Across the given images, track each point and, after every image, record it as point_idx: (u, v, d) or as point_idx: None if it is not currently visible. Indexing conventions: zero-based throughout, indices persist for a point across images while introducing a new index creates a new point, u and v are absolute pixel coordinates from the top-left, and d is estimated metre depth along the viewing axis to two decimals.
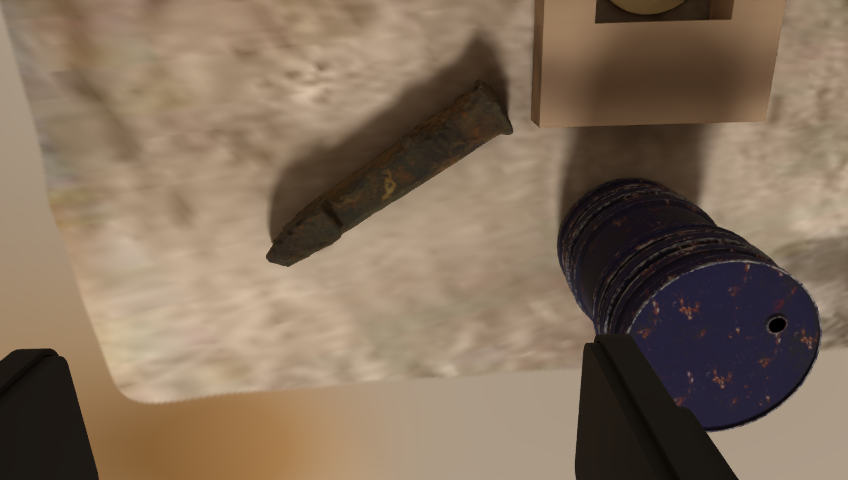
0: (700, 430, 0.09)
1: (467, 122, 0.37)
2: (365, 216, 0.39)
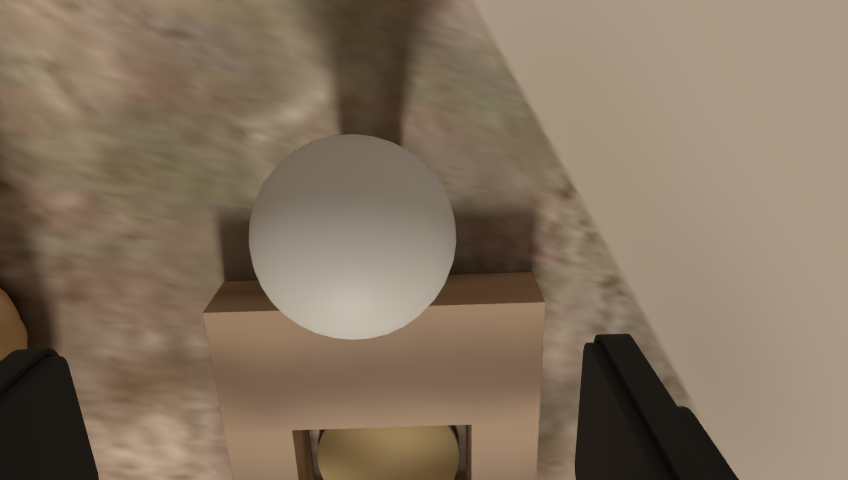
0: (701, 430, 0.09)
1: None
2: None
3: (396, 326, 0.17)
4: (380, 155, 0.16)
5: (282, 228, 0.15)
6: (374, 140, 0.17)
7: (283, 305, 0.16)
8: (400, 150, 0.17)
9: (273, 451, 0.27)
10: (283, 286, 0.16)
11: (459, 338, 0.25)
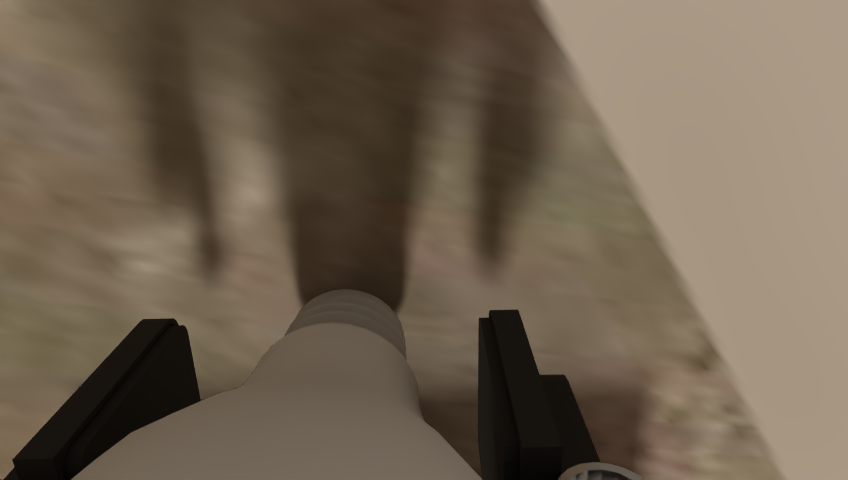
0: (571, 394, 0.10)
1: None
2: None
3: None
4: None
5: None
6: (320, 468, 0.05)
7: None
8: None
9: None
10: None
11: None
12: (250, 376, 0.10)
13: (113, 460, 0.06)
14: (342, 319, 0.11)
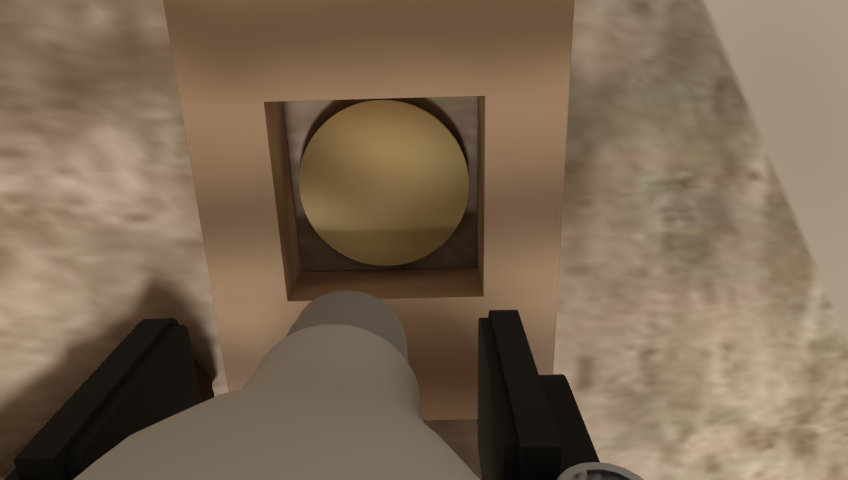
0: (570, 394, 0.10)
1: None
2: None
3: None
4: None
5: None
6: (320, 472, 0.05)
7: None
8: None
9: (241, 134, 0.22)
10: None
11: None
12: (251, 377, 0.10)
13: (112, 463, 0.06)
14: (343, 321, 0.11)
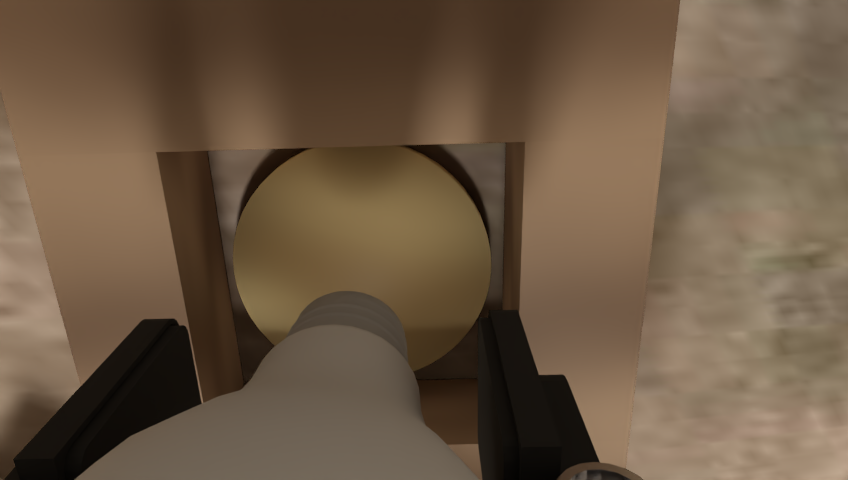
0: (570, 394, 0.10)
1: None
2: None
3: None
4: None
5: None
6: (319, 473, 0.05)
7: None
8: None
9: (123, 203, 0.13)
10: None
11: None
12: (251, 378, 0.10)
13: (112, 464, 0.06)
14: (343, 321, 0.11)
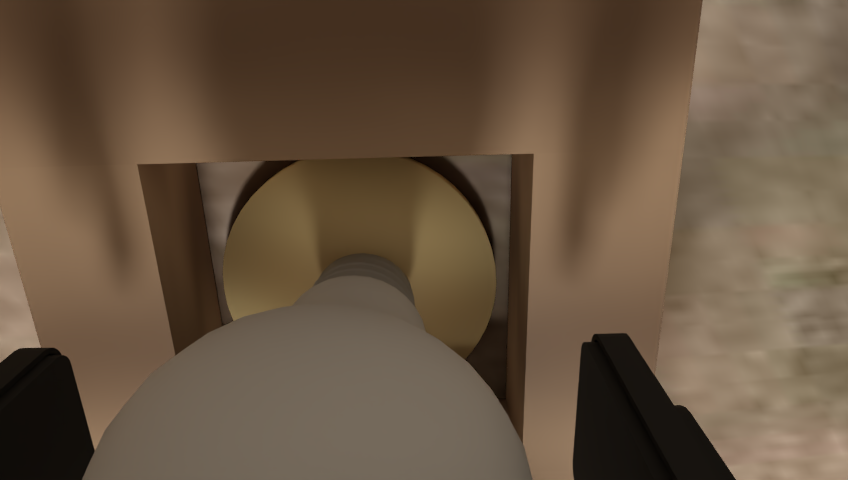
0: (697, 428, 0.09)
1: None
2: None
3: None
4: (373, 403, 0.06)
5: None
6: (362, 344, 0.07)
7: None
8: (423, 366, 0.07)
9: (102, 219, 0.12)
10: None
11: None
12: None
13: (203, 342, 0.08)
14: (361, 274, 0.13)
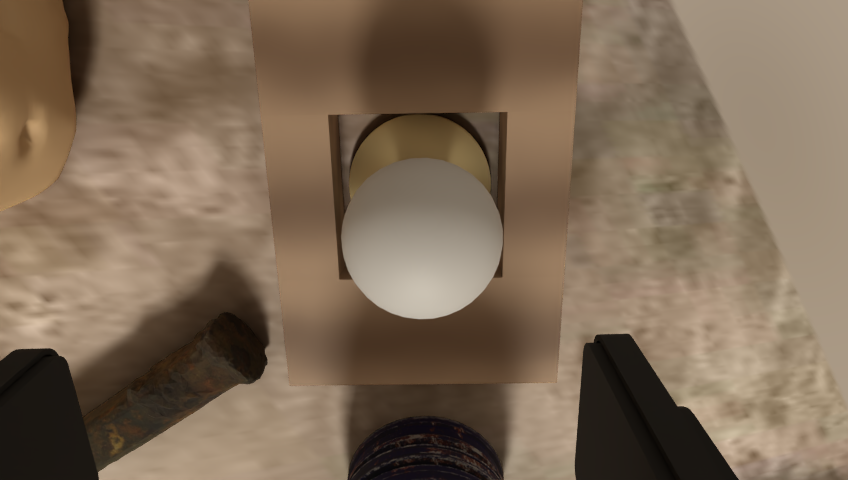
0: (701, 430, 0.09)
1: (195, 375, 0.31)
2: (97, 469, 0.33)
3: (455, 308, 0.22)
4: (449, 175, 0.21)
5: (375, 227, 0.20)
6: (443, 163, 0.22)
7: (370, 288, 0.21)
8: (463, 171, 0.22)
9: (308, 140, 0.27)
10: (373, 272, 0.20)
11: (498, 4, 0.25)
12: None
13: (387, 166, 0.22)
14: None
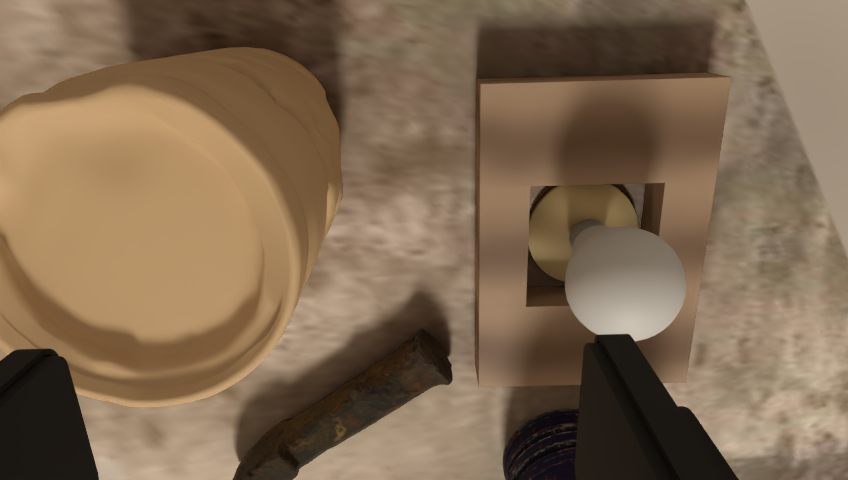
0: (701, 430, 0.09)
1: (408, 378, 0.40)
2: (320, 453, 0.42)
3: None
4: (655, 243, 0.30)
5: (609, 282, 0.29)
6: (646, 232, 0.31)
7: (599, 322, 0.30)
8: (659, 238, 0.31)
9: (514, 205, 0.36)
10: (605, 312, 0.30)
11: (665, 107, 0.34)
12: (580, 238, 0.35)
13: (603, 234, 0.31)
14: None
